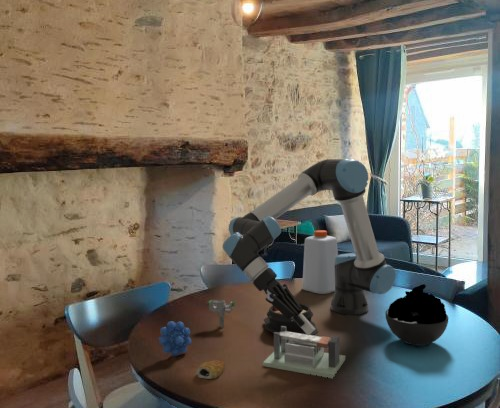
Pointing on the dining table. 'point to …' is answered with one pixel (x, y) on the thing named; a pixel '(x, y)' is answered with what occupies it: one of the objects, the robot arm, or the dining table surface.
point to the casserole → (287, 321)
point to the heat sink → (305, 351)
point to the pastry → (210, 369)
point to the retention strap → (305, 338)
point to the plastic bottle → (319, 263)
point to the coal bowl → (417, 317)
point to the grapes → (175, 338)
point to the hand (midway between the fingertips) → (311, 332)
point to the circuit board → (319, 369)
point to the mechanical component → (220, 309)
